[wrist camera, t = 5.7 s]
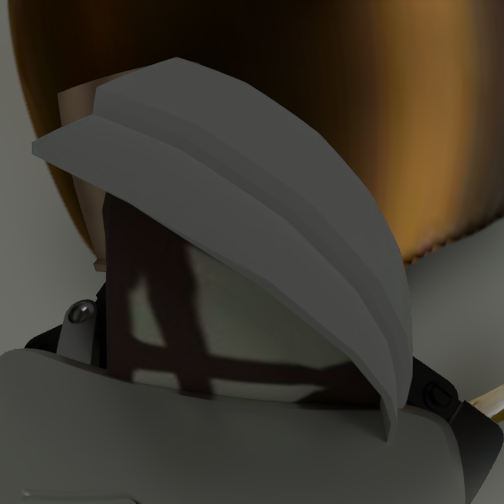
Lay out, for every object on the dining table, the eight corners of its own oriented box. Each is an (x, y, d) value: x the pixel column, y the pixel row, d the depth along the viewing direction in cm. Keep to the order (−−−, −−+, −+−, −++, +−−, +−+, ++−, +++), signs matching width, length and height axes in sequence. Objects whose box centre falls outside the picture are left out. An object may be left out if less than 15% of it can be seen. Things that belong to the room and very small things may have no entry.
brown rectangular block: (199, 62, 21) (174, 59, 16) (215, 247, 32) (201, 281, 28) (87, 87, 23) (50, 95, 18) (119, 242, 34) (96, 271, 29)
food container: (280, 330, 17) (256, 496, 9) (182, 293, 16) (113, 455, 8) (402, 141, 10) (581, 340, 1) (260, 71, 9) (40, 58, 1)
